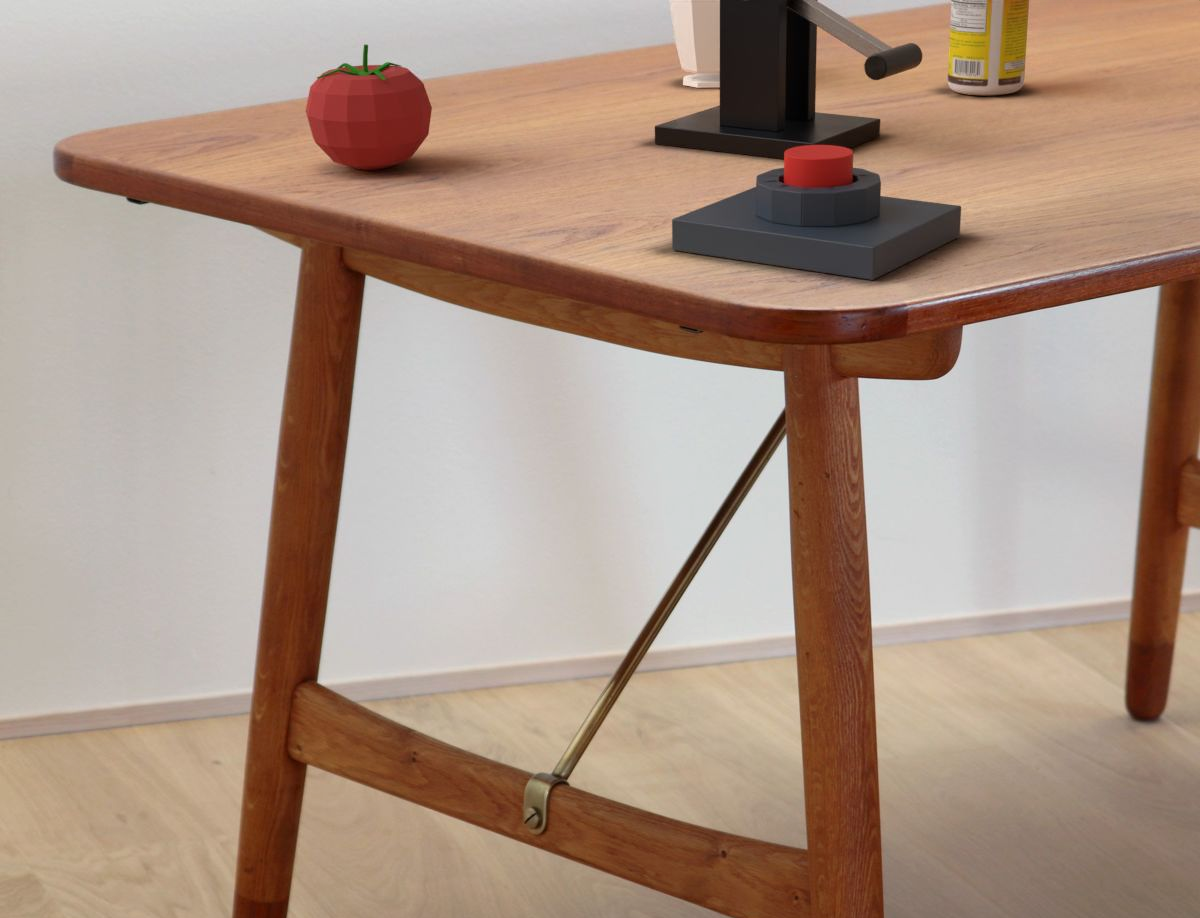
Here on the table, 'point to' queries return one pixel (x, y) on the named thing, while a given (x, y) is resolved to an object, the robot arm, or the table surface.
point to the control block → (818, 227)
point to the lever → (860, 40)
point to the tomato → (368, 114)
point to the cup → (698, 40)
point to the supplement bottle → (987, 46)
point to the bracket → (765, 89)
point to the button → (818, 166)
